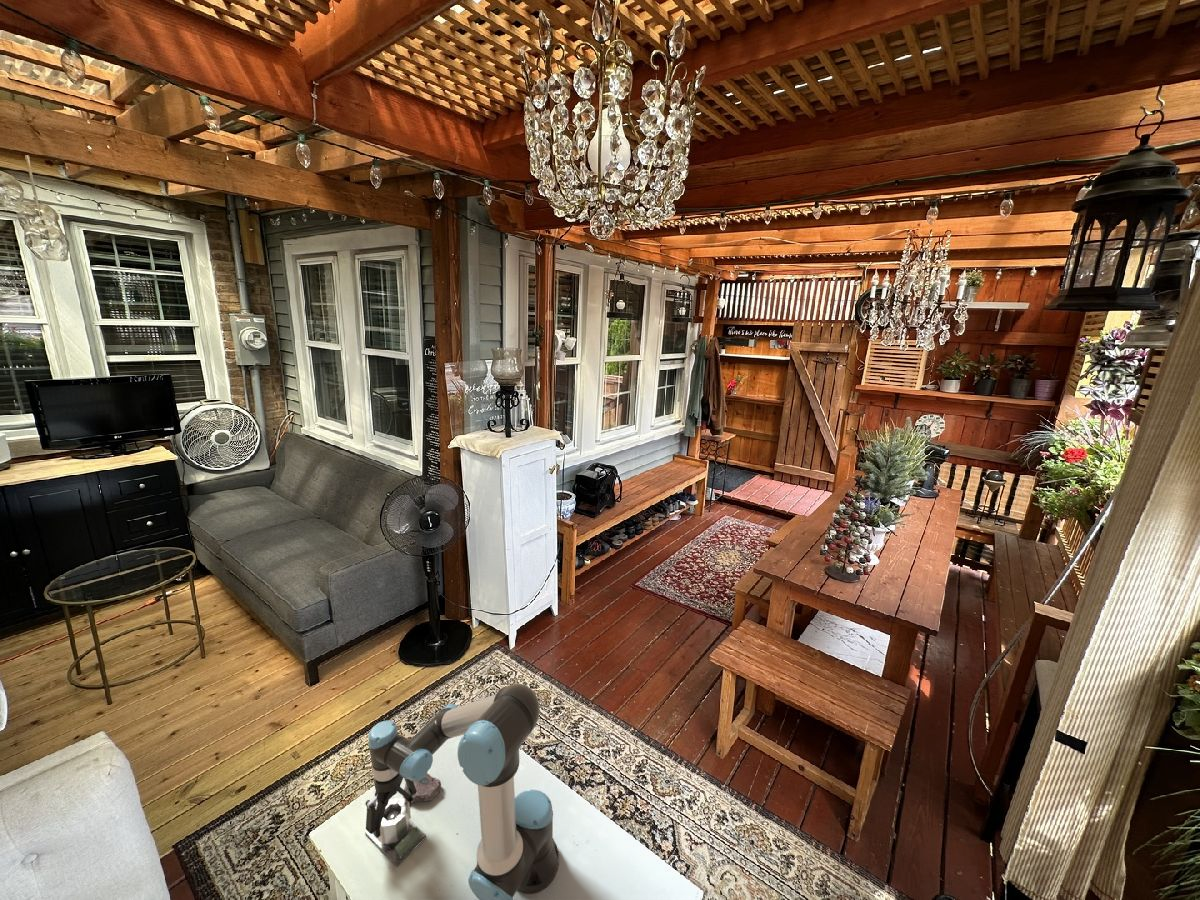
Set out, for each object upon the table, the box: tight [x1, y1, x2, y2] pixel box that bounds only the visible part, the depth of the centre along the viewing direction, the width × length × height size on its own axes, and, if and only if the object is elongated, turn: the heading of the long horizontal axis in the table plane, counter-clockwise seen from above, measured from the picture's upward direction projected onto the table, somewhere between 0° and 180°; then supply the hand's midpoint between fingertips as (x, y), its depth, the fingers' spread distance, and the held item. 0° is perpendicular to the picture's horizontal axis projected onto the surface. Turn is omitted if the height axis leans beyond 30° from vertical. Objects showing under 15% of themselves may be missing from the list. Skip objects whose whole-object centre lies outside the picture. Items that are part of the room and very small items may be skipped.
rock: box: [402, 773, 442, 803], centre depth 157 cm, size 8×11×5 cm
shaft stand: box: [364, 810, 427, 868], centre depth 143 cm, size 16×10×8 cm, turn 56°
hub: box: [381, 797, 409, 844], centre depth 143 cm, size 8×8×7 cm
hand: (394, 828), depth 144 cm, fingers closed on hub, 8 cm apart
